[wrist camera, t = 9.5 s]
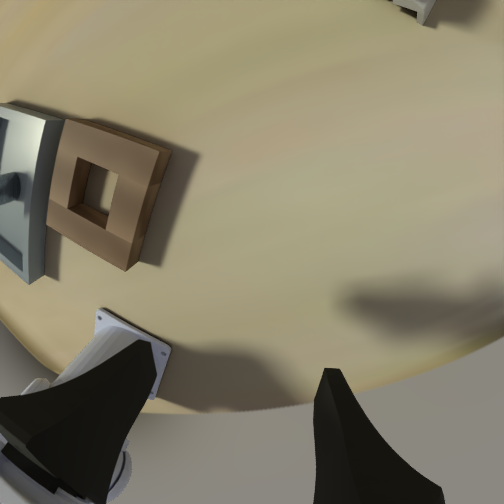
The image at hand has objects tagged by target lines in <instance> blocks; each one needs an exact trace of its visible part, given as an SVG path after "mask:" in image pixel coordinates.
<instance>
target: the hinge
mask: <svg viewBox="0 0 504 504" xmlns="http://www.w3.org/2000/svg"><path fill="white" fill-rule="evenodd" d="M435 2H436V0H393V4H396V5H399V6H402V7H405V8H408V9H411V10H414V11H417V23H419V24H421V25H423V24H424V22H425V20H426V18H427V17H428V15H429V13H430V11H431V9H432V7H433V5H434V4H435Z"/></svg>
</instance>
